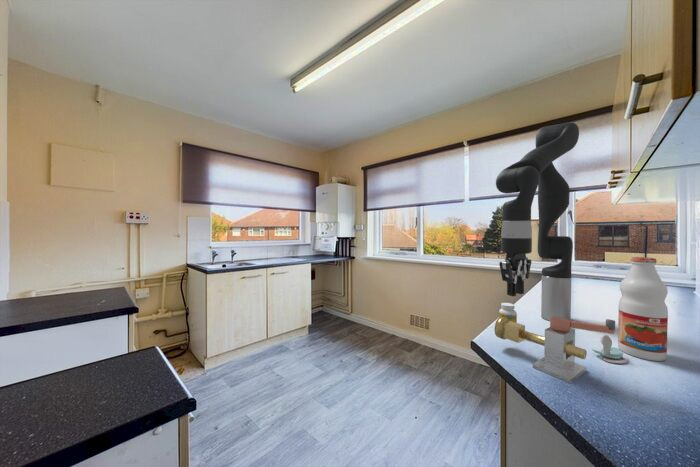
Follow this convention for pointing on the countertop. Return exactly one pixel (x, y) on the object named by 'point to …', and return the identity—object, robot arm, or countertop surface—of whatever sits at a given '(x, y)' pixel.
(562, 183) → the robot arm
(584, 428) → the countertop surface
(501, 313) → the supplement bottle
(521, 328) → the gold bolt
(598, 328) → the lock lever
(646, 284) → the fruit juice
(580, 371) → the eye bracket
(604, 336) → the pacifier
